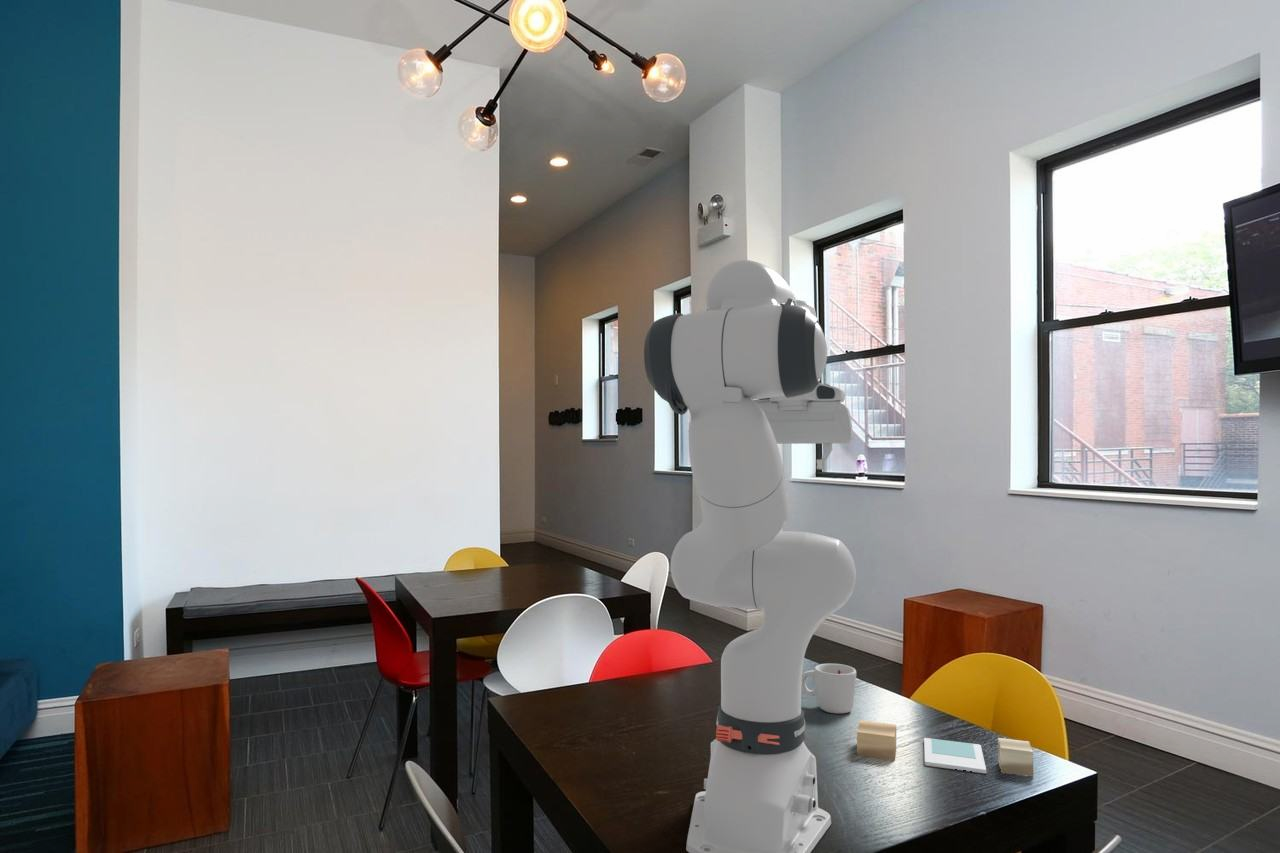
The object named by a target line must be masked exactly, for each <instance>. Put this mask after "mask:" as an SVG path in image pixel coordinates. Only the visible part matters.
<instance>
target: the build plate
mask: <svg viewBox="0 0 1280 853" xmlns="http://www.w3.org/2000/svg"><path fill="white" fill-rule="evenodd" d="M923 744H924V745H923V746H924V749H923V750H924V752H923V753H924V766H926V767H927V766H928V767H935V768H942V769H949V770H950V769H951V770H955V769H957V771H963V770H966V771H965V772H970V771H972V772H971V773H977V774H978V773H979V774H987V766H986V762H985V758H984V753H983V749H982V745H981V744H978V743H970V742H969V743H968V742H961V741H952V740H945V739H937V738H929V737H924V738H923Z"/></svg>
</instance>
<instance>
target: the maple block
mask: <svg viewBox="0 0 1280 853" xmlns="http://www.w3.org/2000/svg"><path fill="white" fill-rule="evenodd" d="M997 749H998V750H997V751H998V752H997V753H998V755H997V756H998V765H999V769H1001V770H1000V772H1001V774H1005V773H1006V774H1007V775H1012V774H1016V775H1015V776H1020V775H1027V776H1034V751H1033V749H1032V746H1031V743H1030V741H1028V740H1019V739H1009V738H1004V737H1003V738H1002V737H998V738H997ZM1027 776H1026V777H1027Z"/></svg>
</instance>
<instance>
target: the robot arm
mask: <svg viewBox="0 0 1280 853" xmlns="http://www.w3.org/2000/svg"><path fill="white" fill-rule="evenodd" d="M705 298H706V299H705V300H706V301H705V302H706V307H707V309H706V310H702V311H696V312H691V313H687V314H683V313H681V312H678V313H674V314H673V313H672V314H670V315H667V316H663V317H661V318H659V319H657V320H655V321H654V322H652V324H651V326H650V328H649V329H648V331H647V332H646V336H645V339H644V346H643V361H644V362H643V363H644V370H645V374H646V377H647V380H648V382H649V385H651V387H652V389H654V391H655V393H656V394H657V395H658V396H659V397H660V398H661V399H662V400H664V401H666V402H667V403H668V404H669V407H670V408H671V410H672V411H673V412H674V413H676V414H678V415H685V414H686V413H687V412H688V410H689V414H690V420H689V425H688V453H689V461H690V467H691V472H692V477H693V481H694V485H695V489H696V492H697V496H698V500H699V505H700V508H701V509H700V510H701V515H702V520H701V523H700V524H699V525H698V526H697V527H696V528H695V529H693V530H691V531H688V532H687V533H685V534H684V535H683V536H681V538H680V539H679V540H678V542H677V543H676V545H675V546H674V548H673V550H672V554H671V558H670V574H671V580H672V581H673V584H674V587H675V588H676V590H677V591H678V593H679V594H680V595H681V596H682V597H683V598H685V599H686V600H687V599H688V600H690V601H694V602H697V603H701V604H704V605H708V606H712V607H719V608H722V607H723V608H733V609H734V608H735V609H745V610H747V609H748V610H759V611H762V612H763V613H764V614H763V617H764V619H763V624H762V626H760V627H758V628H756V629H754V630H751V631H747V632H746V633H743V634H742V635H739V636H738V637H736V638H734V639H733V640H732V641H730V642H729V643H728V644H727V645H726V646H725V648H724V650H723V652H722V654H721V658H720V705H719V706H718V709H717V717H716V730H715V731H716V732H715V733H716V734H715V737H716V738H715V739H713V741H711V742H710V760H709V765H708V766H709V767H708V774H707V778H703V780H702V787H703V790H705V791H699V792H696V794H695V797H694V802H693V807H692V812H691V817H690V822H689V823H690V824H689V828H688V833H687V839H686V846H685V849H686V852H688V853H812V851H813V850H814V848H815V847H816V846H817V845H818V843H819V842H820V840H821V839H822V837H823V836H824V835H825V833H826V831H827V830H828V829H829V828H830V826H831V824H832V817H831V815H830V813H829V812H828V811H826V810H824V809H822V808H820V807H819V801H818V800H819V799H818V798H819V796H818V795H819V794H818V779H817V778H818V775H817V774H818V773H817V760H816V758H817V757H816V756H815V755H814V754H813V753H812V752H811V751H810V750H809V748H808V747H807V746H806V744H805V738H806V734H805V732H806V731H805V730H806V720H805V712H804V710H803V709H802V686H801V684H802V675H803V667H804V660H805V655H806V651H807V648H808V645H809V643H810V640H811V638H812V637H813V636H814V635H815V634H814V633H815V632H816V631H817V630H818V628H819V627H820V625H821V624H822V623H823V622H824V621H825V620H826V619H827V618H829V617H830V616H831V615H832V614H833V613H835V612H837V611H839V610H840V609H841V608H842V607H843V606H844V605H845V604H846V603H847V602H848V600H849V599H850V597H851V596H852V594H853V593H854V589H855V586H856V580H857V571H856V563H855V561H854V558H853V555H852V554H851V551H850V550H849V548H848V547H847V546H846V545H845V543H843V542H842V540H841V539H838V538H835V537H832V536H827V535H824V534H818V533H813V532H809V531H791V530H789V531H787V530H782V529H783V527H784V526H785V524H786V523H787V521H788V518H789V514H790V499H789V495H788V489H787V483H786V479H785V473H784V465H783V461H782V456H781V453H780V452H781V451H780V449H779V445H778V444H791V445H792V444H793V445H794V444H795V445H797V444H808V445H809V444H812V445H813V444H821V445H822V450H823V451H824V450H825V452H824V454H823V455H822V457H821V459H816V470H822V471H823V470H824V471H825V470H827V460H828V458H829V456H830V454H831V453H832V451H833V444H850V442H852V440H853V438H854V431H853V424H852V423H853V421H852V418H851V412H850V410H849V408H848V406H847V405H846V404H845V403H844V401H845V399H846V393H845V391H844V390H843V389H842V388H839V387H837V386H833V385H830V384H828V383H821V379H822V376H823V374H824V371H825V368H826V364H827V360H828V345H827V344H828V343H827V340H826V337H825V334H824V331H823V327H822V325H821V324H820V321H819V319H818V318H817V314H816V308H815V307H814V305H813V304H812V303H810V302H808V301H805V300H800V299H796V297H795V293H794V292H793V290H792V288H791V287H790V286H789V284H788V283H787V281H786V280H785V279H784V278H783V277H782V276H781V275H780V274H779V273H778V272H777V271H775V270H774V269H772V268H771V267H769V266H768V265H765V264H764V263H760V262H758V261H754V260H750V259H749V260H748V259H741V260H735V261H732V262H729V263H726V264H725V265H724V266H722V267H721V268H719V269H718V270H717V271H716V272H715V273H714V275H713V276H712V277H711V279H710V281H709V283H708V286H707V288H706V295H705Z"/></svg>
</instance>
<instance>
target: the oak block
mask: <svg viewBox="0 0 1280 853" xmlns="http://www.w3.org/2000/svg"><path fill="white" fill-rule="evenodd" d="M896 755H897V724H893V723H887V722H885V723H884V722H877V721H870V720H861V719H859V722H858V725H857V730H856V756H861V757H867V758H875V759H882V760H888V761H896V757H897V756H896Z"/></svg>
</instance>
